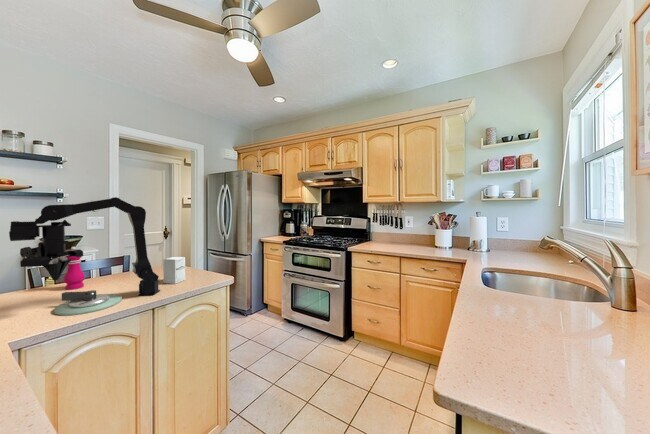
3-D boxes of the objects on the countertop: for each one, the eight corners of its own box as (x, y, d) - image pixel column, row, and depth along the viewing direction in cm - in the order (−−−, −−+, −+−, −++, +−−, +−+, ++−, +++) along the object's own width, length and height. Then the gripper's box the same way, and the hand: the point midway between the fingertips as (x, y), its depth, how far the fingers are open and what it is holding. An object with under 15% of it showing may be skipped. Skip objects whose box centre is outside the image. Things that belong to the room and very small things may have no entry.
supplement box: (175, 284, 131) (174, 259, 130) (163, 283, 133) (162, 258, 132) (186, 280, 138) (185, 256, 138) (174, 279, 140) (173, 256, 139)
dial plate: (132, 295, 115) (132, 292, 114) (98, 314, 95) (98, 310, 95) (83, 297, 112) (82, 294, 112) (37, 316, 92) (37, 313, 92)
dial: (116, 296, 110) (116, 286, 110) (94, 307, 98) (94, 296, 98) (76, 297, 108) (76, 287, 108) (49, 308, 96) (48, 298, 96)
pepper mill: (74, 290, 121) (73, 248, 120) (59, 290, 121) (58, 247, 120) (89, 285, 128) (87, 245, 127) (74, 285, 128) (73, 245, 127)
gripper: (53, 235, 104) (54, 274, 104) (0, 242, 85) (2, 289, 86) (83, 235, 105) (84, 273, 106) (38, 242, 87) (40, 288, 87)
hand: (55, 280), depth 96 cm, fingers closed
